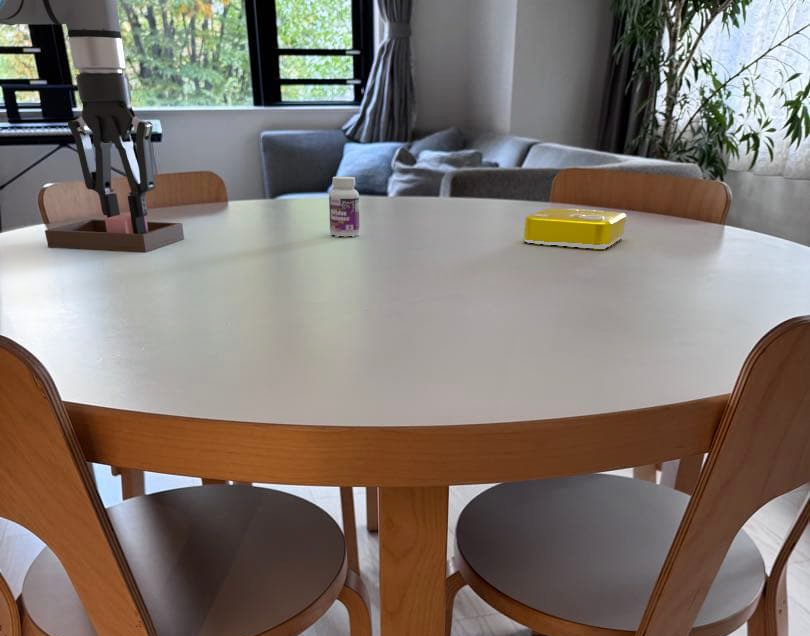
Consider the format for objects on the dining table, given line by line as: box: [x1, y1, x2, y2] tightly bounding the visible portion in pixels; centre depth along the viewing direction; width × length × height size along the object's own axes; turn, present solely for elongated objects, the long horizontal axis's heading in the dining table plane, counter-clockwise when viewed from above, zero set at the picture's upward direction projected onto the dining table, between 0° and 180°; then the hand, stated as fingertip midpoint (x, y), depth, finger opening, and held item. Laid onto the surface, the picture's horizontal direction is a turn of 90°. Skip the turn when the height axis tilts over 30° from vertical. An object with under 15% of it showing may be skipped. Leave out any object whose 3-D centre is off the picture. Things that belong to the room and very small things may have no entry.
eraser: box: [104, 212, 148, 234], centre depth 125 cm, size 7×4×4 cm, turn 168°
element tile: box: [523, 207, 627, 251], centre depth 133 cm, size 15×15×5 cm
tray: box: [44, 218, 185, 253], centre depth 128 cm, size 18×14×3 cm
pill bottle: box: [328, 175, 360, 238], centre depth 135 cm, size 5×5×10 cm
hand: (128, 236), depth 126 cm, fingers closed on eraser, 4 cm apart
